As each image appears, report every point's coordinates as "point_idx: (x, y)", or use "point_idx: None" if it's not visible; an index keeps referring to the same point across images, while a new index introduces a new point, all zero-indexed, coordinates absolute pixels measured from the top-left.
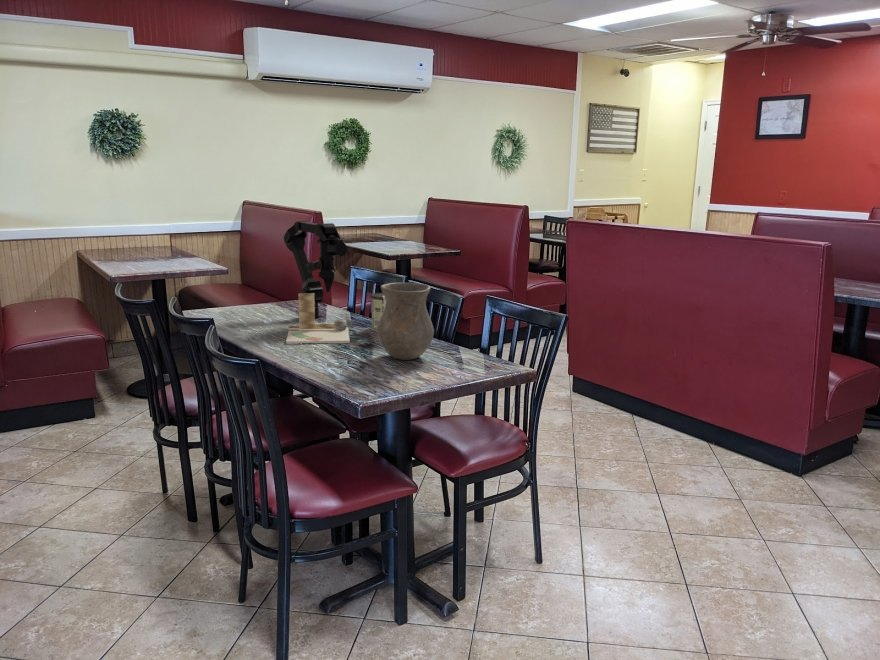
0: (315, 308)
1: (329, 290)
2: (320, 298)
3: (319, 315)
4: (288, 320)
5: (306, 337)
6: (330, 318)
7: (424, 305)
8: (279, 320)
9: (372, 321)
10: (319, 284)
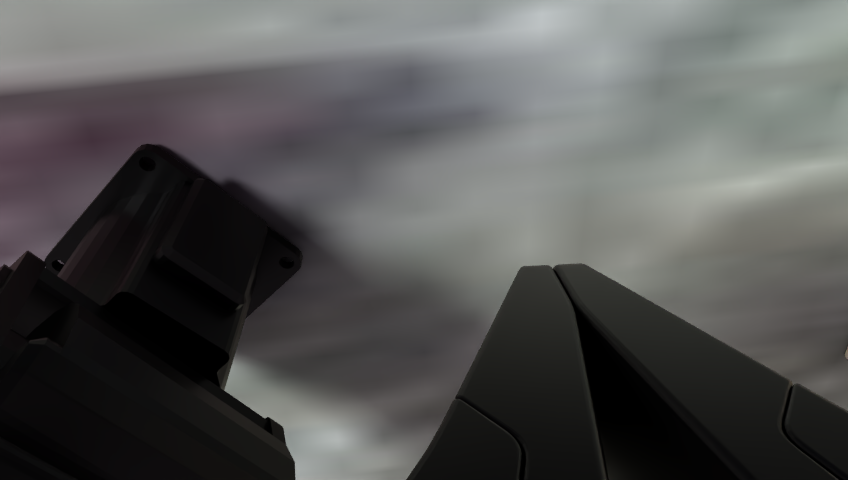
0: (221, 276)
1: (612, 286)
2: (96, 318)
3: (122, 173)
4: (380, 416)
5: None
6: (192, 5)
7: None
8: (386, 472)
9: None
10: None
